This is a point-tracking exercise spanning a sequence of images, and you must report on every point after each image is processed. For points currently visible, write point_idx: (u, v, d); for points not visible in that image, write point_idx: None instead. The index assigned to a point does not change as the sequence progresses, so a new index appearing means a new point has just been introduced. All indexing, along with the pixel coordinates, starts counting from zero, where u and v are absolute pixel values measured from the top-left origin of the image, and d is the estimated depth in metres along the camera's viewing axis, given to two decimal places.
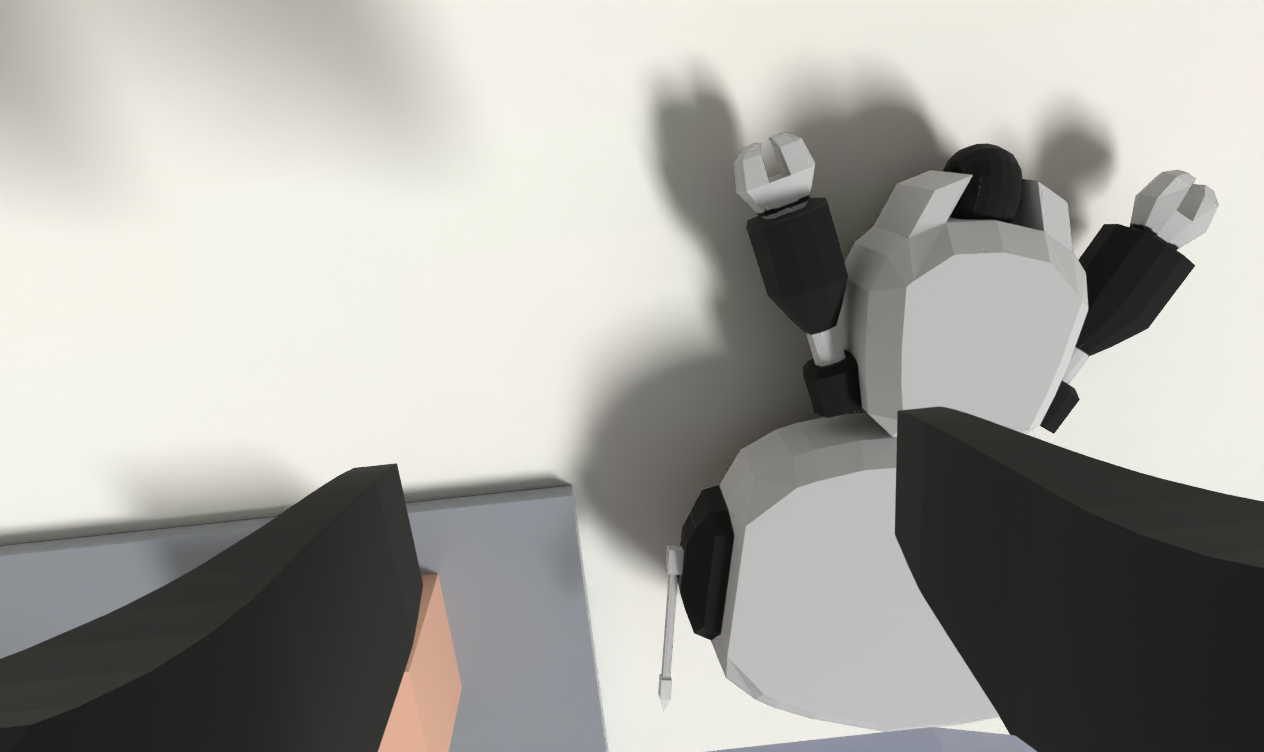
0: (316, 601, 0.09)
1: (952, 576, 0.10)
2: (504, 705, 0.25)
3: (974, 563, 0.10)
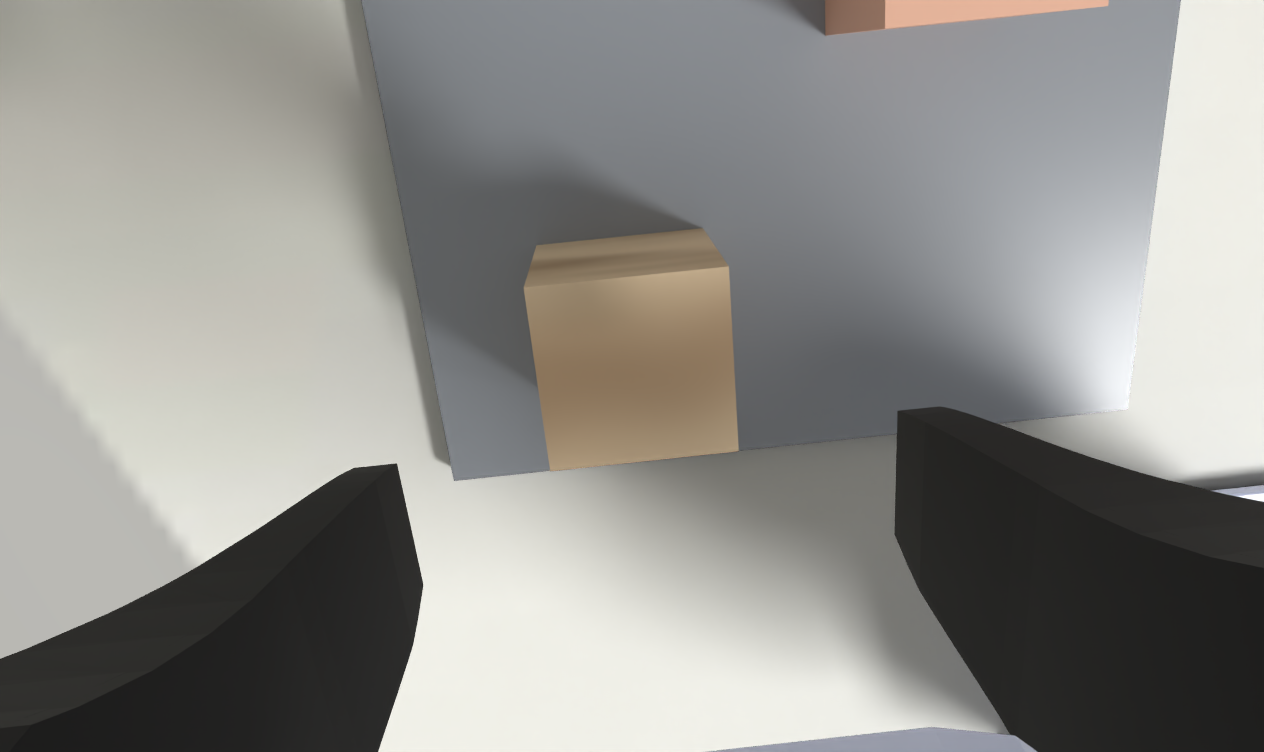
0: (316, 601, 0.09)
1: (952, 576, 0.10)
2: (1050, 52, 0.19)
3: (974, 563, 0.10)
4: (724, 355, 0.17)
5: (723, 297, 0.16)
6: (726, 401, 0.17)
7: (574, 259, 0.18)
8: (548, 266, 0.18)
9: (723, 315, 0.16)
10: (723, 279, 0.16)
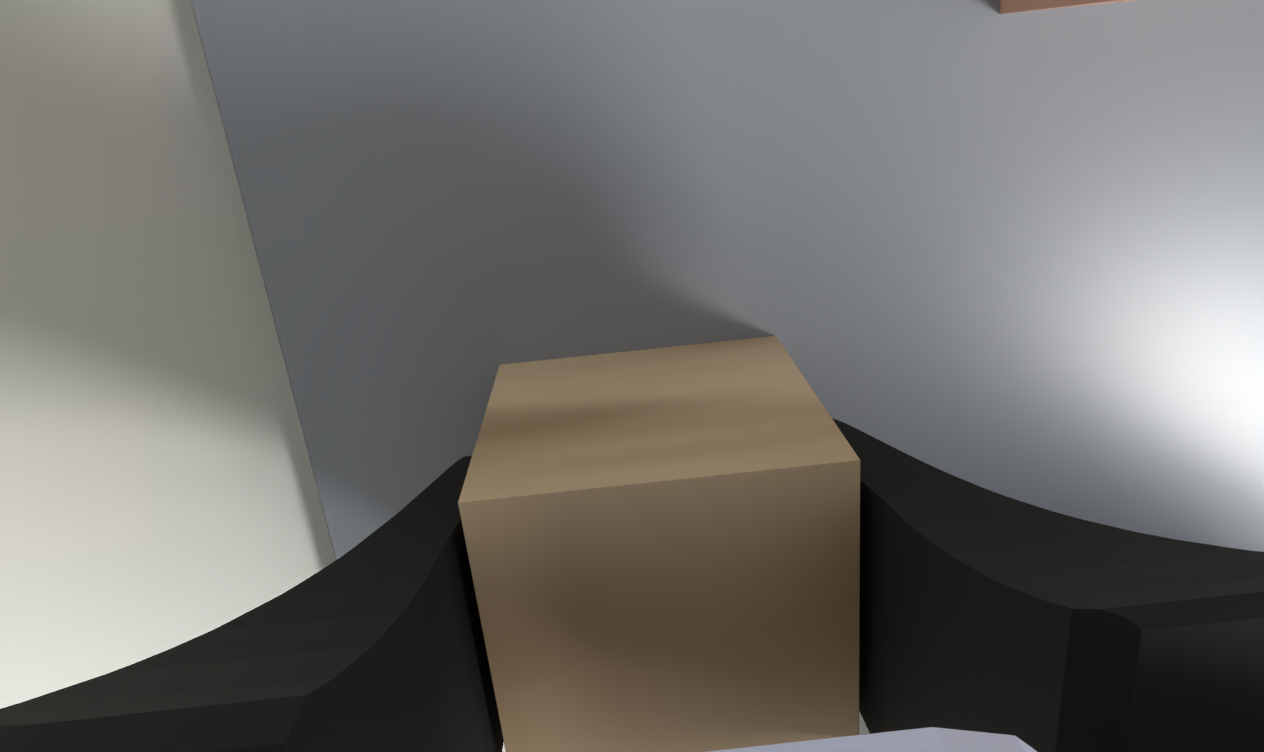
0: (461, 586, 0.09)
1: None
2: None
3: None
4: (842, 613, 0.09)
5: (846, 514, 0.08)
6: (841, 689, 0.09)
7: (561, 411, 0.10)
8: (513, 430, 0.10)
9: (845, 547, 0.09)
10: (848, 482, 0.08)
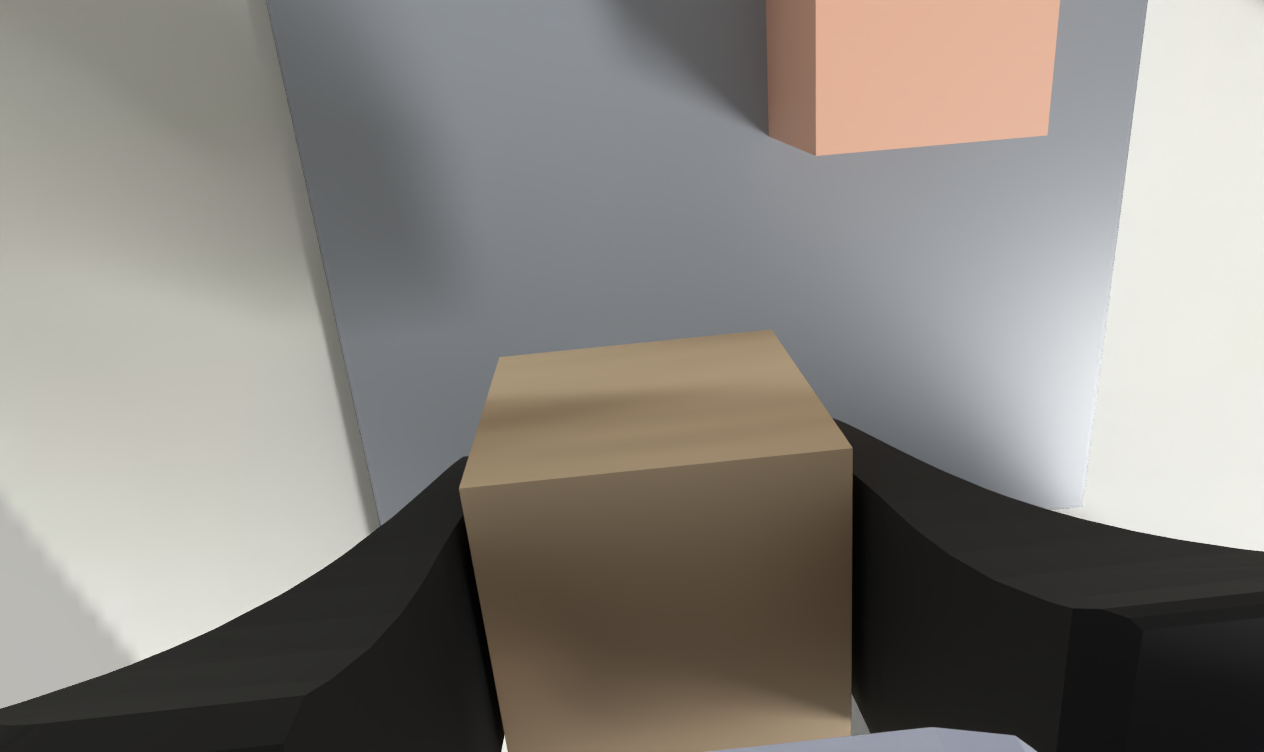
0: (461, 586, 0.09)
1: None
2: (1001, 155, 0.18)
3: None
4: (835, 599, 0.09)
5: (839, 502, 0.09)
6: (834, 674, 0.09)
7: (559, 402, 0.10)
8: (513, 420, 0.10)
9: (837, 533, 0.09)
10: (840, 470, 0.09)
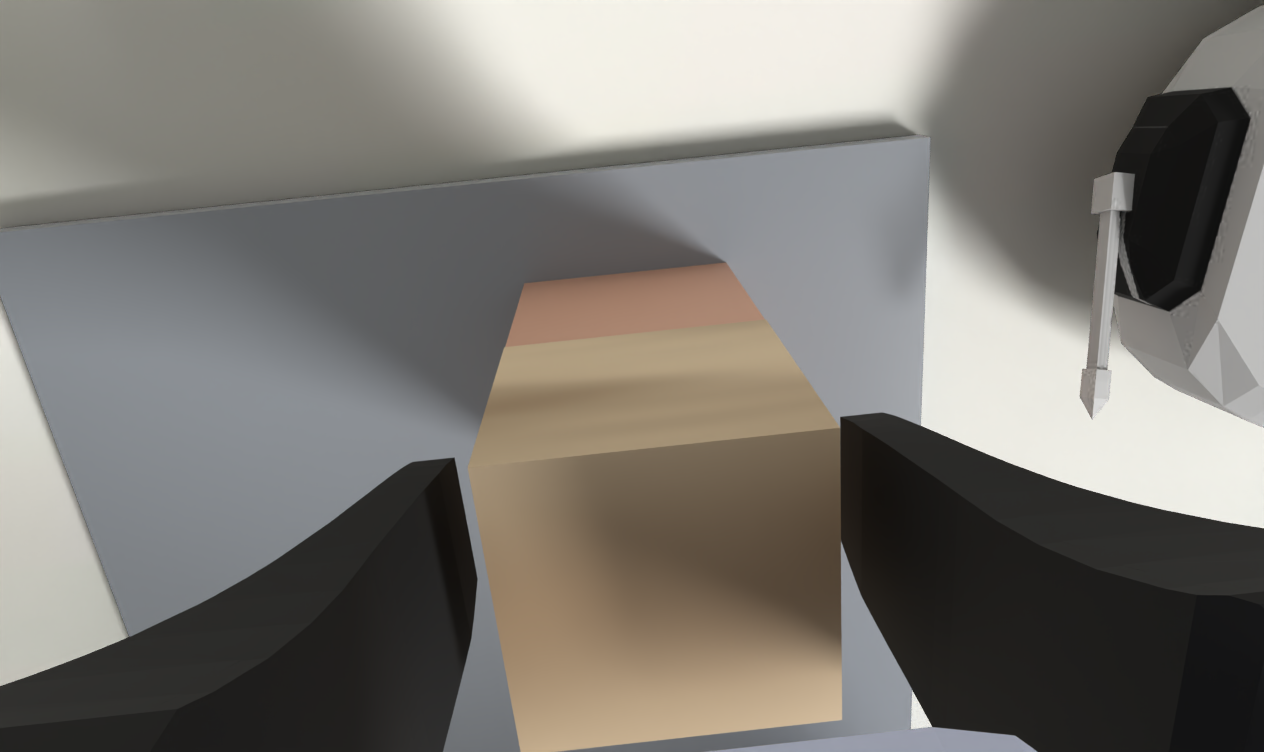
0: (393, 593, 0.09)
1: (888, 583, 0.10)
2: None
3: (906, 570, 0.10)
4: (825, 573, 0.10)
5: (827, 479, 0.09)
6: (825, 645, 0.10)
7: (562, 388, 0.11)
8: (517, 405, 0.10)
9: (826, 509, 0.09)
10: (829, 449, 0.09)
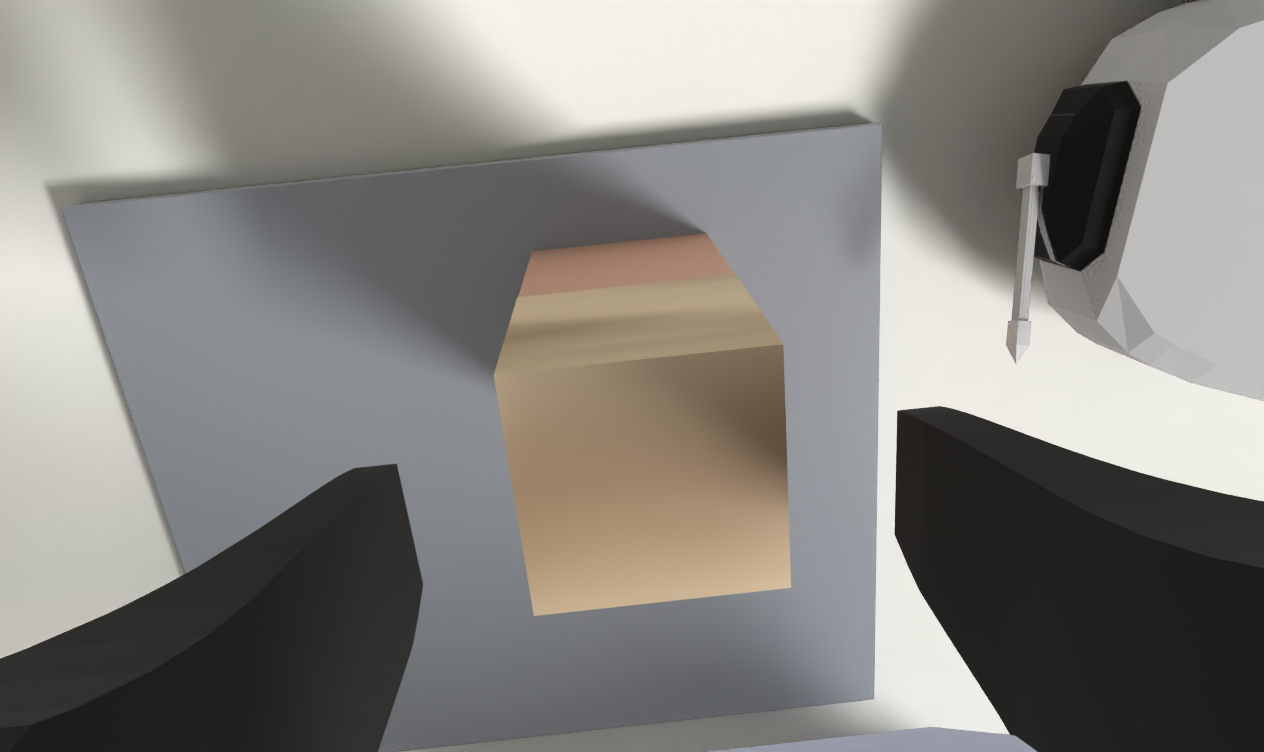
0: (316, 601, 0.09)
1: (952, 576, 0.10)
2: None
3: (974, 563, 0.10)
4: (774, 463, 0.12)
5: (774, 386, 0.12)
6: (775, 523, 0.12)
7: (566, 323, 0.13)
8: (530, 335, 0.13)
9: (774, 410, 0.12)
10: (775, 361, 0.12)
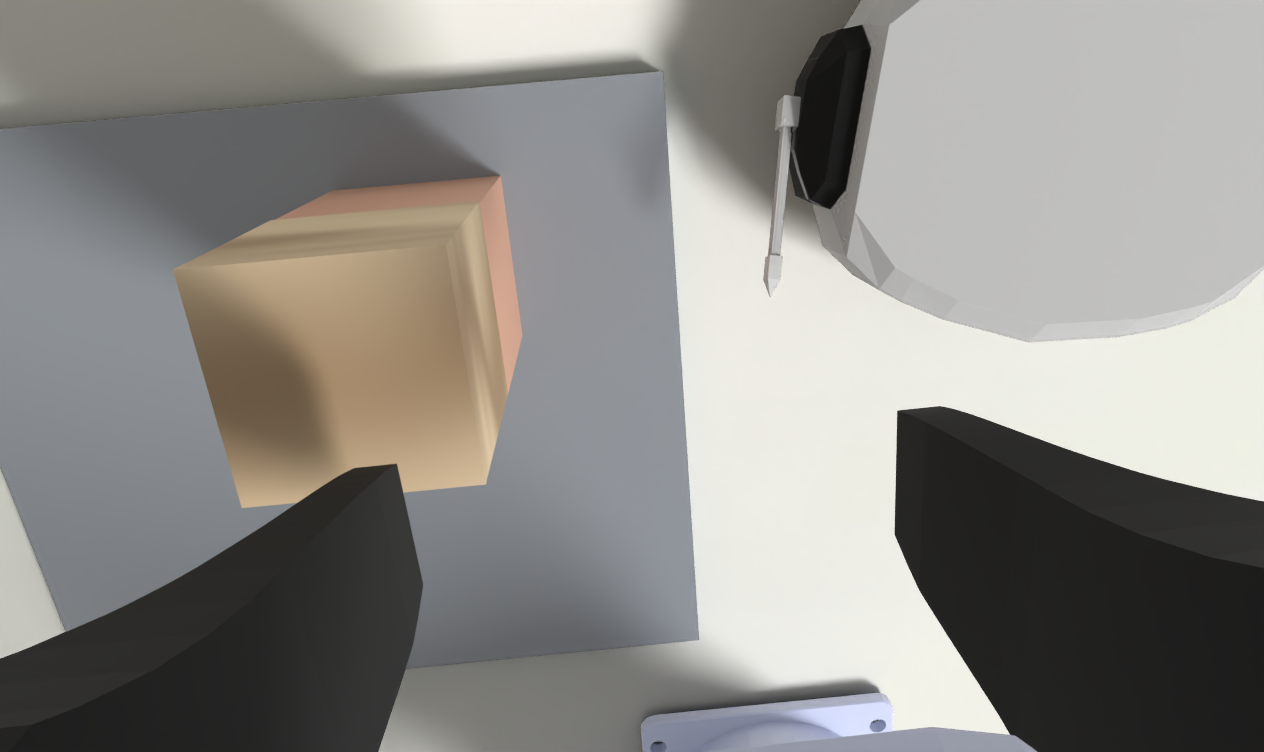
0: (316, 601, 0.09)
1: (952, 576, 0.10)
2: (570, 362, 0.21)
3: (974, 563, 0.10)
4: (453, 361, 0.13)
5: (443, 285, 0.12)
6: (462, 420, 0.13)
7: (285, 236, 0.14)
8: (243, 244, 0.14)
9: (445, 309, 0.13)
10: (441, 261, 0.12)
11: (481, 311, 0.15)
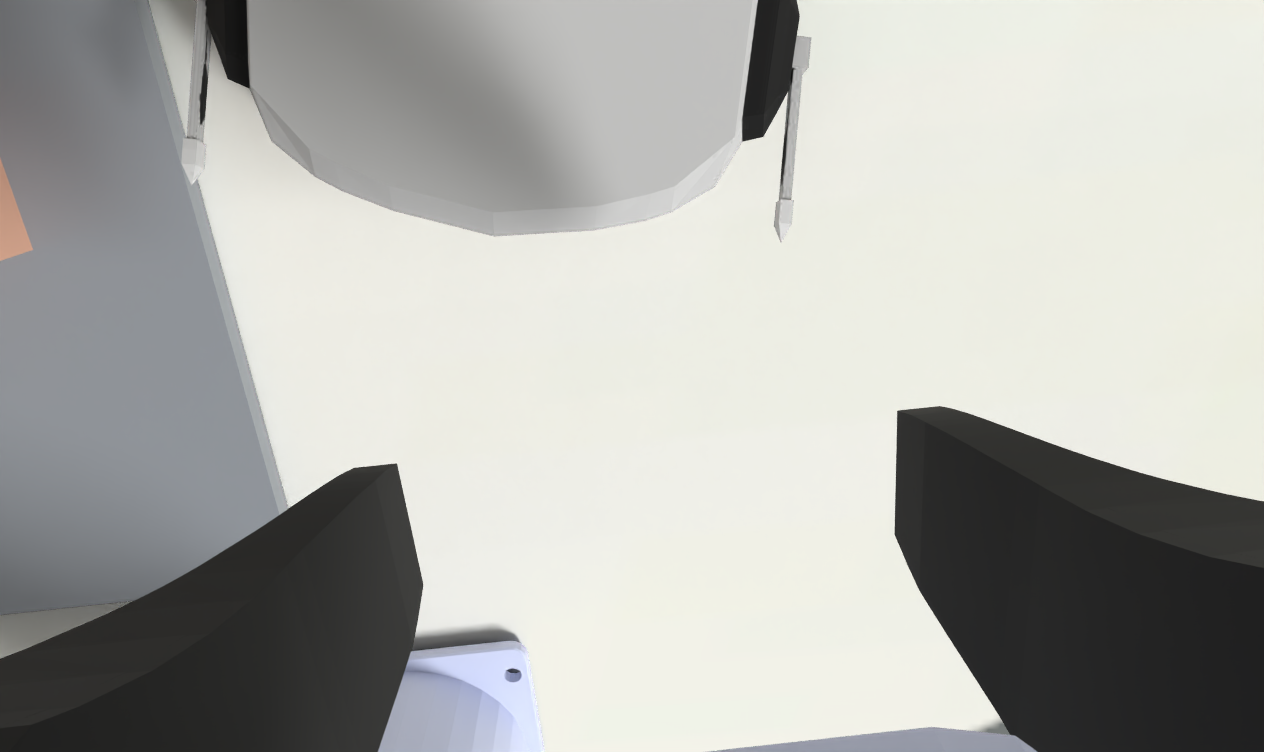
0: (316, 601, 0.09)
1: (952, 576, 0.10)
2: (92, 279, 0.20)
3: (974, 563, 0.10)
4: None
5: None
6: None
7: None
8: None
9: None
10: None
11: None
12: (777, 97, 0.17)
